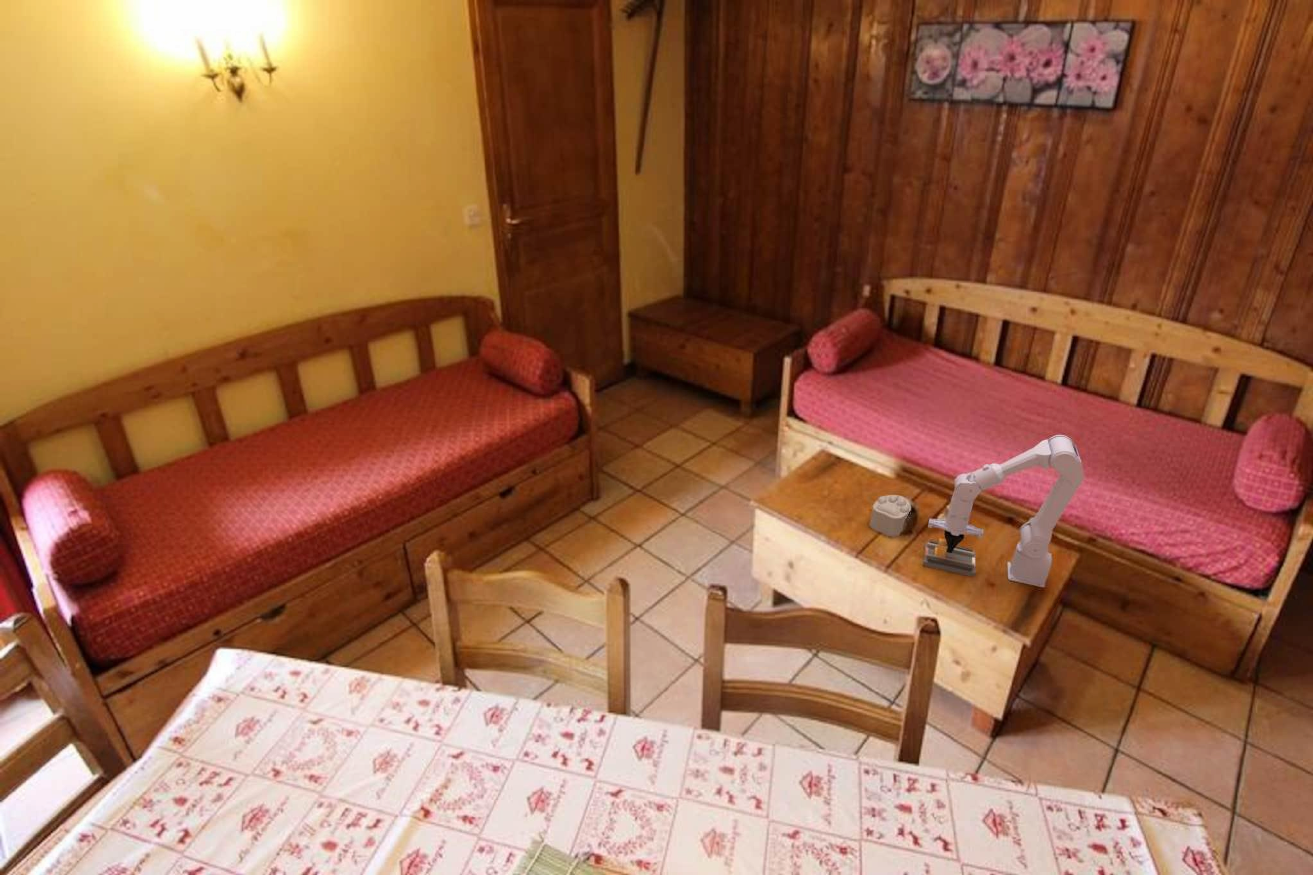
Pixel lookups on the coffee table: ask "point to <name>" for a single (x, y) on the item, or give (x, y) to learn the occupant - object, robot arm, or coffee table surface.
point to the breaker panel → (950, 559)
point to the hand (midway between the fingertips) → (949, 550)
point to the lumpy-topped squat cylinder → (889, 514)
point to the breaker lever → (941, 548)
